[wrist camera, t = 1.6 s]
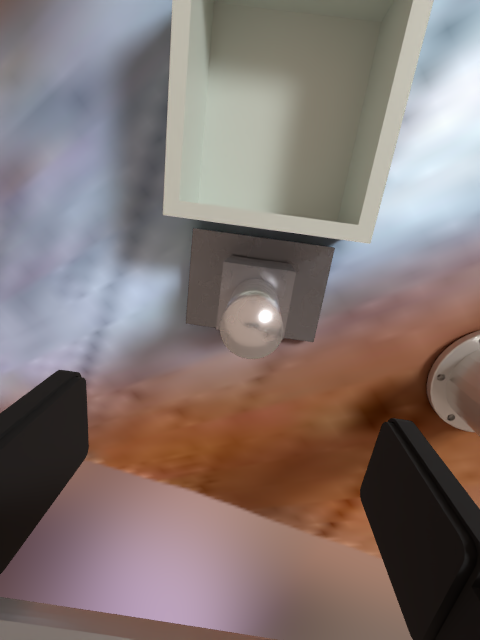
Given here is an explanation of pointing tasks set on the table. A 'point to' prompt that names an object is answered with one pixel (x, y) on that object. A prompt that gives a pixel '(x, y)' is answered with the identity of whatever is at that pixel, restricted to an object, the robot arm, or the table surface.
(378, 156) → the bin
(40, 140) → the table surface
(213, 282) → the stud base
